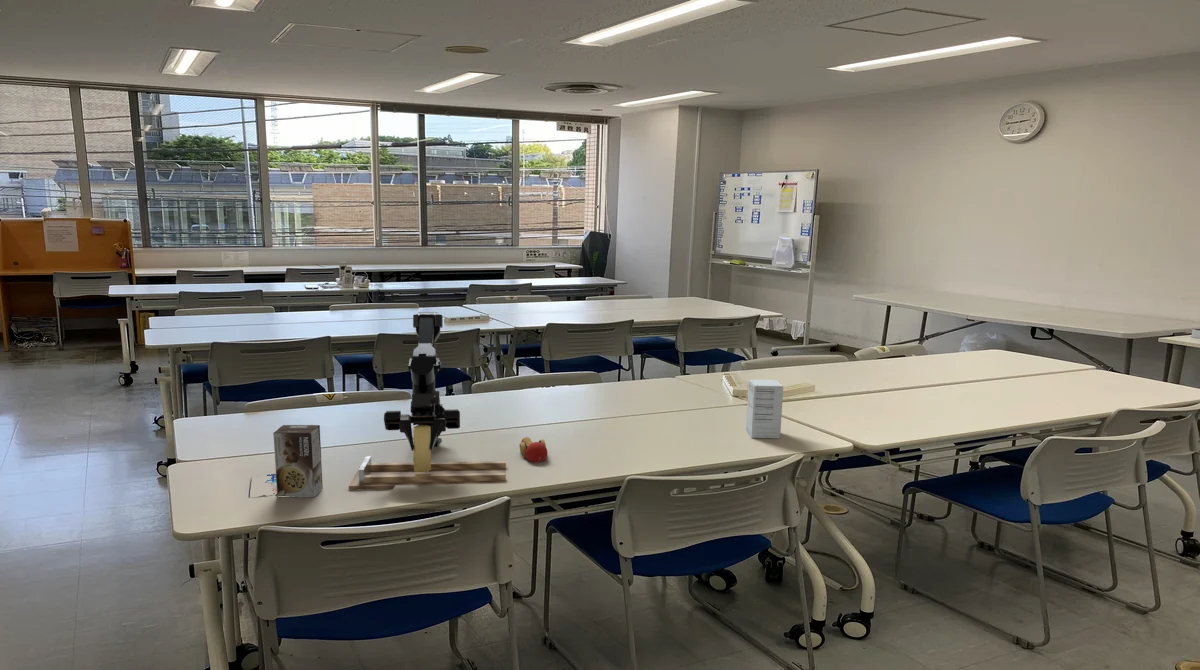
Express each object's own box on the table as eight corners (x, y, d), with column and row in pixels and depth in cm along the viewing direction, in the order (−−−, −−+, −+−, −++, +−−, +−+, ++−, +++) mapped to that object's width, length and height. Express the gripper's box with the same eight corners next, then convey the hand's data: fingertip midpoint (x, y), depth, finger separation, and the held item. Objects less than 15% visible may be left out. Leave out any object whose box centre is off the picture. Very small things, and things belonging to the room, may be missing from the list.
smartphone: (247, 497, 177) (250, 476, 191) (247, 500, 177) (250, 478, 191) (282, 493, 180) (282, 472, 194) (282, 496, 180) (282, 474, 194)
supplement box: (780, 439, 234) (784, 386, 231) (751, 438, 234) (754, 385, 231) (773, 430, 243) (776, 379, 240) (745, 429, 243) (748, 378, 240)
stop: (371, 468, 196) (371, 455, 195) (364, 483, 186) (363, 469, 185) (366, 468, 196) (366, 455, 195) (359, 483, 186) (358, 469, 185)
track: (505, 467, 202) (505, 458, 202) (505, 486, 188) (505, 477, 188) (360, 470, 198) (359, 461, 197) (348, 489, 184) (348, 480, 184)
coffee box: (323, 487, 185) (321, 424, 182) (314, 498, 179) (312, 432, 176) (286, 487, 185) (283, 423, 182) (275, 497, 178) (272, 431, 175)
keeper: (421, 465, 192) (420, 423, 191) (434, 468, 191) (434, 426, 189) (410, 470, 189) (409, 428, 187) (423, 473, 187) (423, 430, 185)
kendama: (510, 452, 219) (522, 464, 202) (514, 431, 219) (526, 441, 202) (536, 455, 222) (550, 467, 204) (539, 434, 222) (554, 444, 205)
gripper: (383, 380, 188) (379, 436, 179) (459, 378, 191) (459, 433, 182) (387, 402, 197) (384, 456, 188) (460, 400, 200) (460, 454, 191)
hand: (421, 449), depth 187 cm, fingers closed on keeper, 4 cm apart
